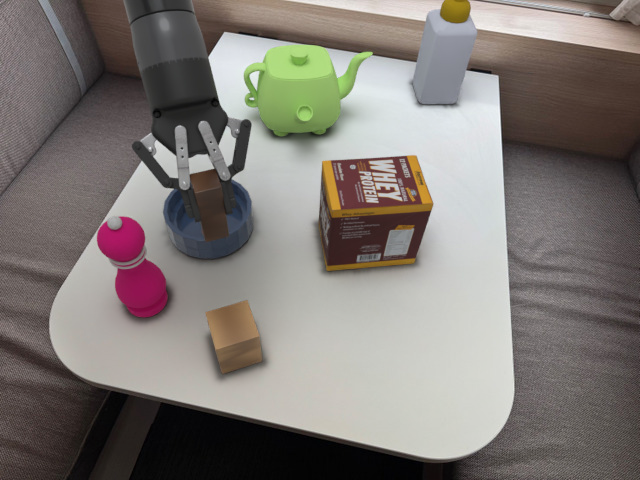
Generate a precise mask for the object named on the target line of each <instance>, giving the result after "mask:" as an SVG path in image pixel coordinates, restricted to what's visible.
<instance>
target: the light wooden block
mask: <svg viewBox="0 0 640 480" xmlns="http://www.w3.org/2000/svg"><path fill="white" fill-rule="evenodd" d="M204 313H205V317H206V321H207V324H208V329H209V334H210V336H211V340H212V344H213V347H214V350H215V354H216V358H217V361H218V365H219V369H220V372H221V374H222V375H225V374H227V373H230V372H234V371H237V370H240V369H243V368H246V367H249V366H252V365H255V364H258V363H261V362H263V357H262V356H263V355H262V347H261V346H262V345H261V337H260V333H259V330H258V327H257V325H256V321H255V319H254V316H253V312H252V309H251V306H250V303H249V300H248V299H246V300H242V301H239V302H235V303H232V304H229V305H224V306H223V307H222V306H221V307H219V308H218V307H217V308H215V309H212V310H208V311H205V312H204Z"/></svg>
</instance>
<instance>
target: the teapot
mask: <svg viewBox="0 0 640 480" xmlns="http://www.w3.org/2000/svg"><path fill="white" fill-rule="evenodd" d="M373 54H374V53H373V51H363V52H360V53H357V54H356V55H354V56H353V57H352V58H351V59H350V60H349V61H350V62H349V64H348V66H347V69H346V71H345V72H344V74H342V75H341V76H339V77H338V76H337V74H336V73H337V72H336V69H335V66H334V64H333V61H332V58H331V56H330V53H329V51H328V50H327V48H325V47H323V46H320V45H313V44H288V45H279V46H275V47H272V48H269V49H268V50H267V51H266V53H265V55H264V56H263V60H262V61H261V62H259V61H257V62H253V63H251V64H249V65H248V66H247V67H246V68H245V69H244V72H243V81H244V84H245V86H246V88H247V90H248V91H249V92H248V93H246V94H245V96H244V104H245V105H246V106H247V107H249V108H252V109H253V108H254V109H255V108H257V110H258V114H259V117H260V119H261V121H262V122H263V124H264V125H265V126H266V127H267V128H268V129H269V130H272V131H273V134H274V135H275V136H278V137H286V136H288V135H289V134H290V133H292V134H293V133H295V134H302V133H311V132H312V133H313V134H316V135H324V134H325V133H326V132H327V129H329V128H331V127H332V126H333V125H334V124H335V123H336V122H337V121H338V119H339V118H340V115H341V108H342V107H341V100H343V99H345V98H347V96H348V95H350V93H351V92H352V90H353V89H354V86H355V83H356V78H357V75H358V72H359V68H360V67H361V65H362V63H363V62H364V61H365V60H367V59H368V58H370V57H371V56H372V55H373ZM255 72H258V77H257V84H256V85H257V86H256V87H255V86H254V84H253V82H252V80H251V77H250V75H251V74H253V73H255ZM251 98H253V99H251Z"/></svg>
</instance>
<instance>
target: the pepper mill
mask: <svg viewBox="0 0 640 480" xmlns="http://www.w3.org/2000/svg"><path fill="white" fill-rule="evenodd" d="M145 234H146V233H145V229H144V228H143V227H142V225H141V224H140V223H139V222H138V221H137V220H136V219H134V218H132V217H129V216H125V215H124V216H121V215H119V216H118V215H112V216H109V217H108V218H107V220H106V221H105V222H104V223H102V225H100V227H99V228H98V230H97V233H96V244H97V247H98V249H99V251H100V252H101V254H102V255H104V256H105V257H106V258H107V259H108V260H109V264H111V266H113V267H114V268H116V270H117V271H116V276H115V278H114V289H115V294H116V296H117V298H118V300H119V301H120V302H121V303H122V304H123V305H125V306H126V309H127V310H128V312H129V313H130V314H131V315H133V316H135V317H138V318H150V317H153V316H155V315H157V314H159V313H160V312H162V310H164V308H165V307H166V306H167V304H168V303H167V302H168V292H167V289H166V288H167V279H166V276H165V273H163V271H162V269H161V268H160V267H159V266H158V265H157V264H156V263H154V262H152V261H151V260H149V259H147V258H146V257H147V247H146V235H145Z"/></svg>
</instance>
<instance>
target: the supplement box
mask: <svg viewBox="0 0 640 480" xmlns="http://www.w3.org/2000/svg"><path fill="white" fill-rule="evenodd" d="M319 192H320V193H319V210H318V211H319V212H318V223H317V225H318V231H319V237H320V242H321V248H322V254H323V260H324V264H325V269H326V272H331V271H342V270H355V269H364V268H367V269H368V268H376V267H377V268H378V267H387V266H401V265H411V264H412V265H413V264H415V263H416V259H417V256H418V254H419V253H418V252H419V250H420V248H421V244H422V242H423V241H422V240H423V237H424V235H425V232H426V229H427V225H428V223H429V219H430V216H431V214H432V211H433V209H434V208H433V207H434V205H435V203H434V200H433V198H432V196H431V192H430V191H429V188H428V185H427V182H426V179H425V176H424V173H423V171H422V167H421V164H420V161H419V158H418V156H417V155H415V154H409V155H396V156H395V155H394V156H382V157H381V156H380V157H366V158H365V157H364V158H349V159H348V158H347V159H329V160H328V159H327V160H321V175H320V191H319Z"/></svg>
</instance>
